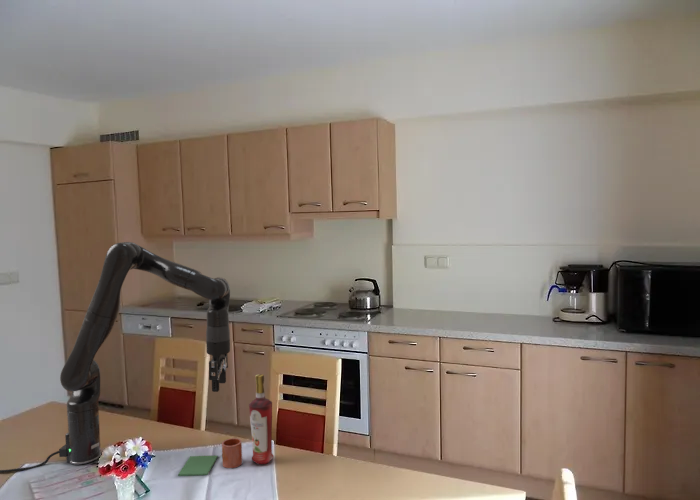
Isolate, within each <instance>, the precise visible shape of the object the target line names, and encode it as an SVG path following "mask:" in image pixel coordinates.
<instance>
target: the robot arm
mask: <svg viewBox="0 0 700 500" xmlns="http://www.w3.org/2000/svg"><path fill="white" fill-rule="evenodd" d="M131 270H138V271H142V272H146V273H149V274H153V275H155V276H157V277H159V278H160V279H162V280H164V281H165V282H167V283H169V284H171V285H173V286H176V287H178V288H182V289H184V290H187V291H189V292H193V293H194V294H196V295H198V296H200V297H202V298H204V299H206V300H209V302H208V303H209V305H208V308H207V310H206V330H205V342H206V343H205V344H206V345H205V347H206V354H208V355H211V356H212V358H211V360H209V361H208V380H209V381H211V391H212V393H218V392H219V391H220V384H226V383H227V370H228V368H229V361H228V360H229V359H228V358H229V357H228V354H229V353H231V338H230V337H231V331H230V321H229V319H230V317H229V308H230V307H229V306H230V299H231V286H230V283H229V281H228V280H227V279H226V278H224V277H220V276H218V277H215V278H214V277H210V276H207V275H205V274H203V273H202V272H201V271H199V270H197V269H195V268H191V267H190V266H187V265H183V264H180V263H178V262H176V261H172V260H169V259H167V258H164V257H162V256H160V255H157V254H155V253H153V252H152V251H150V250H148V249H146V248H145V247H142V246H141V245H139V244H137V243H136V242H133V241H121V242H116V243H114V244H113V245H111V246H110V247H109V248H108V249H107V252H106V253H105V258H104V261H103V265H102V269H101V273H100V277H99V280H98V282H97V285H96V288H95V290H94V293H93V295H92V297H91V299H90V300H91V301H90V303H89V305H88V307H87V310H86V313H85V315H84V317H83V318H84V319H83V321H82V324H81V326H80V329H79V332H78V333H77V336H76V340H75V343H74V345H73V348H72V350H71V352H70V354H69V356H68V357H67V359H66V361H65V362H64V365H63V367H62V369H61V371H60V376H59V382H60V384H61V386H62V388H63V389H64V390H65V391H67V392H71V394H70V397H69V398H68V400H67V402H66V420H67V433H65V437H64V438H65V444H64V445H63V446H62V447H59V448H58V450H57V451H55V452H52V453H51V454H49V455H48V456H47V457H46V459H45V460H44V461H43V462H41V463H38V464H36V465H33V466H28V467H18V468H10V469H0V474H2V473H12V472H20V471H27V470H32V469H36V468H39V467H42V466H44V465H46V464H47V463H48V462H49V460H50V459H51V458H52V457H53V456H55V455H57V454H58V456H59V458H66V464H71V465H73V466H74V465H75V466H79V465H86V464H91V463H92V462H95V461H97V460H99V459H100V458H101V456H102V448H101V431H100V430H101V429H100V413H99V412H100V411H99V410H100V409H99V401H100V400H99V399H100V397H101V370H100V366H99V364H98V363H97V361H96V360H95V357H96V355H97V353H98V351H99V349H100V348H101V347H102V346H103V344H104V343H105V341H106V340H107V339H108V337H109V335H110V334H111V333H112V331H113V329H114V327H115V325H116V322H117V319H118V317H119V314H120V310H121V293H122V288H123V285H124V282H125V279H126V277H127V275H128V273H129V272H130V271H131ZM99 457H100V458H99Z"/></svg>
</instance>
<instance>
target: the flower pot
mask: <svg viewBox="0 0 700 500" xmlns="http://www.w3.org/2000/svg"><path fill="white" fill-rule="evenodd" d="M221 463H222V467H223V468H225V469H235V468H238V467H240V466H242V464H243V441H242V439H241V438H236V437H231V438H227V439H224V440H222V442H221Z"/></svg>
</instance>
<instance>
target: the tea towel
mask: <svg viewBox="0 0 700 500" xmlns="http://www.w3.org/2000/svg"><path fill="white" fill-rule="evenodd" d="M218 458H219V456H218V455H191V456H189V457H188V459H187V461H186V462H185V463H184V465H183V466H182V468H181V469H180V470H179V472H178V474H177V476H178V477H191V476H193V477H194V476H209V473H210V472H211V470H212V468H213V467H214V465H215V463H216V461H217V459H218Z"/></svg>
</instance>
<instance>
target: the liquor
mask: <svg viewBox="0 0 700 500" xmlns="http://www.w3.org/2000/svg"><path fill="white" fill-rule="evenodd" d="M254 377H255V385H256V386H255V387H256V388H255V399H253V400H252V401H250V403H248V410H249V422H250V431H251V432H250V433H251V443H252V456H251V461H253V462H254V463H255V464H257V465H267V464H269V463H270V462H271V461H272V460H273V458H274V454H273V446H272V445H273V443H272V442H273V440H272V439H273V438H272V436H273V435H272V434H273V402H272V400H270V399H269V398H266V393H265V387H264V386H265V385H264V383H265V375H264V374H261V373H260V374H256V375H255V376H254Z"/></svg>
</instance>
